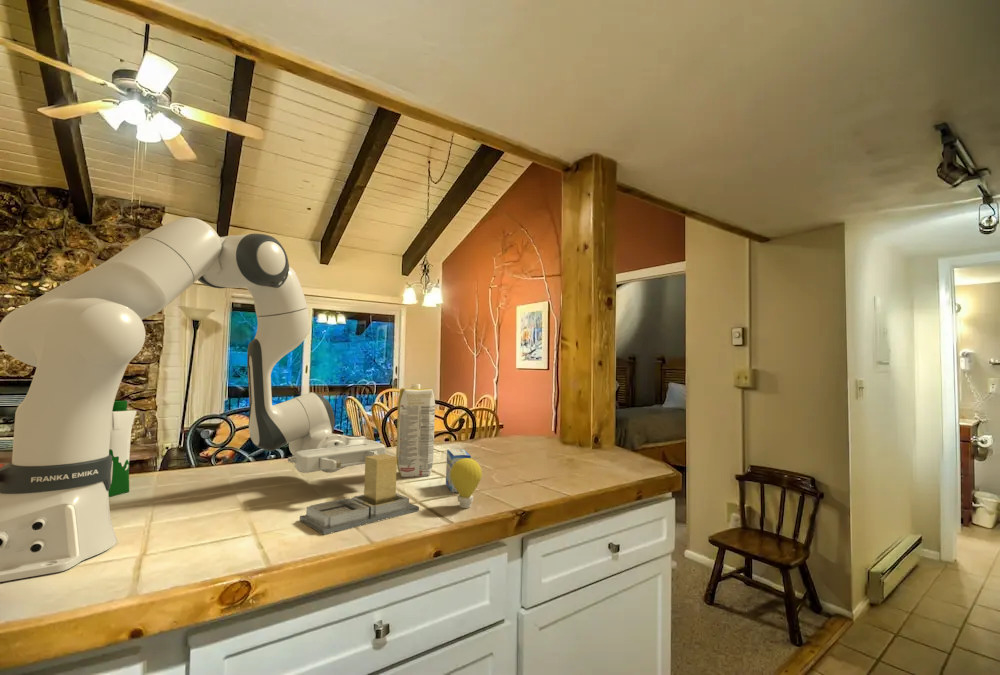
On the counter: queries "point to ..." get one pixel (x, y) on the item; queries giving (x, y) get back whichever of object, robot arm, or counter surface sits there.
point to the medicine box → (453, 457)
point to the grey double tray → (353, 513)
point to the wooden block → (380, 479)
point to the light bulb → (466, 479)
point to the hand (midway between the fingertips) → (358, 462)
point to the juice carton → (415, 431)
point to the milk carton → (120, 446)
